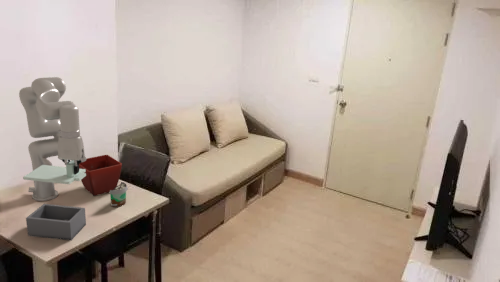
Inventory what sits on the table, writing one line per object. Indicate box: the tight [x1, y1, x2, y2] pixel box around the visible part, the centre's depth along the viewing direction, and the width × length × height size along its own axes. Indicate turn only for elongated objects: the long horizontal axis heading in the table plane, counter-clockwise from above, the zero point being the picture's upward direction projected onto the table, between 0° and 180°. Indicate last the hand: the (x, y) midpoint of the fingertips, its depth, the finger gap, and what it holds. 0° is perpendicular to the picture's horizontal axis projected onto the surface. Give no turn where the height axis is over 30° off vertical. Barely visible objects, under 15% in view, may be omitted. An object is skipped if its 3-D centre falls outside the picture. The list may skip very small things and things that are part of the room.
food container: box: [108, 181, 129, 208], centre depth 210 cm, size 12×6×10 cm, turn 168°
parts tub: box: [25, 203, 87, 241], centre depth 182 cm, size 20×14×9 cm
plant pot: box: [79, 154, 123, 196], centre depth 223 cm, size 19×19×17 cm
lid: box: [22, 160, 86, 185], centre depth 176 cm, size 23×15×8 cm, turn 86°
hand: (73, 172), depth 176 cm, fingers closed on lid
